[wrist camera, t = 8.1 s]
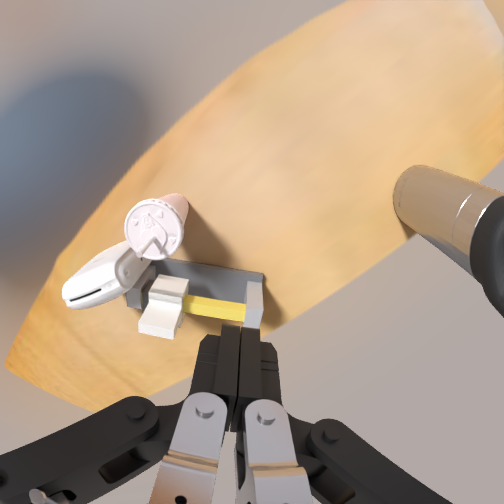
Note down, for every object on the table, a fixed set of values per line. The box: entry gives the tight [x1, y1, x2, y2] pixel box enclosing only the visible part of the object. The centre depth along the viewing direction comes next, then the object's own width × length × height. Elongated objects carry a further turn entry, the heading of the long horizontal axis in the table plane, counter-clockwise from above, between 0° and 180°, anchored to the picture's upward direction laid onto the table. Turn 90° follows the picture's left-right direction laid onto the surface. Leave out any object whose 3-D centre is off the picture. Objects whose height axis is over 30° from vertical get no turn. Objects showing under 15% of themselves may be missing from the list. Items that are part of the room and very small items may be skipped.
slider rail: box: [126, 258, 264, 329], centre depth 37 cm, size 17×5×8 cm, turn 80°
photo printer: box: [62, 240, 152, 309], centre depth 33 cm, size 10×4×12 cm, turn 111°
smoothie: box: [124, 193, 189, 260], centre depth 30 cm, size 6×6×14 cm
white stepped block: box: [138, 274, 189, 340], centre depth 33 cm, size 4×4×8 cm
